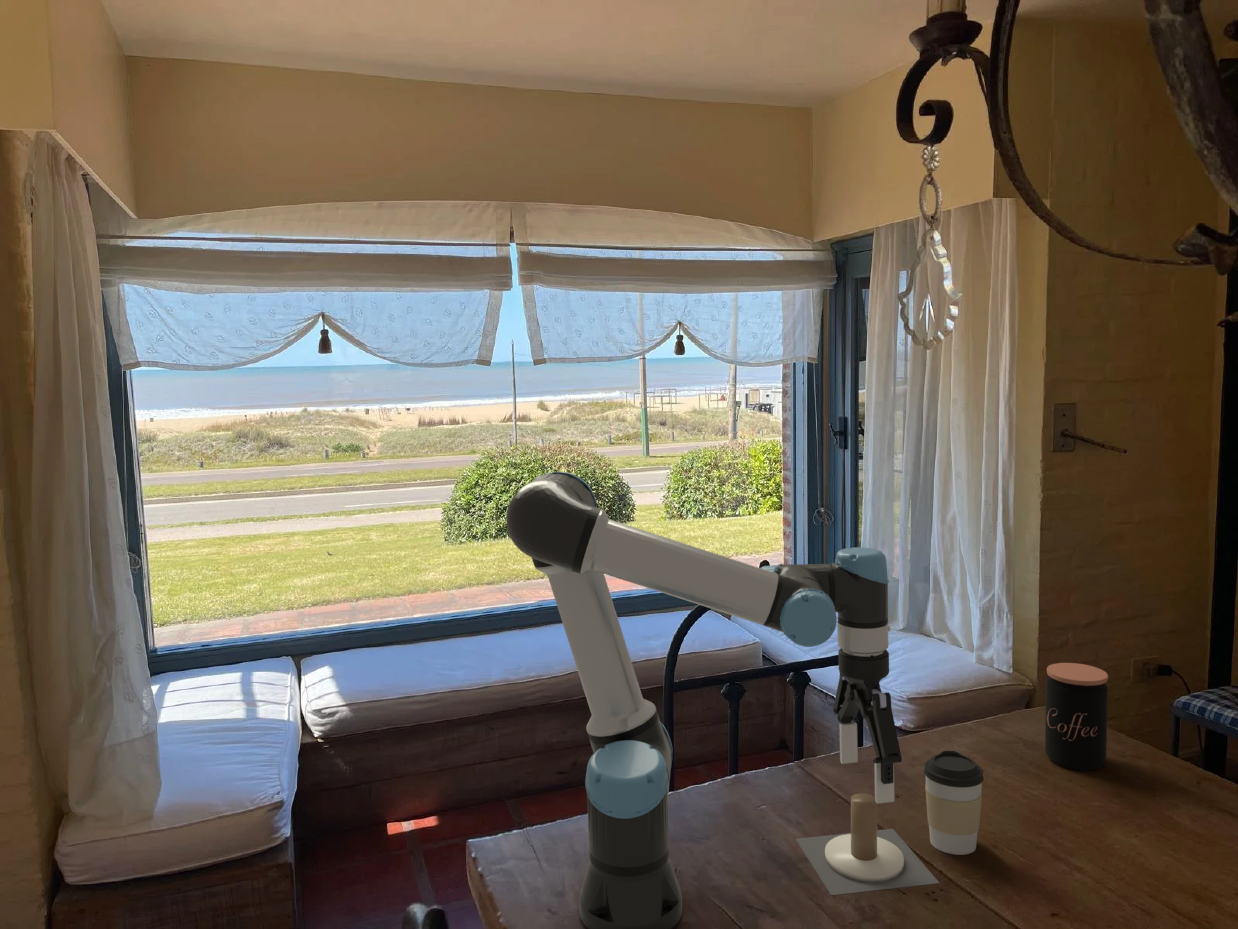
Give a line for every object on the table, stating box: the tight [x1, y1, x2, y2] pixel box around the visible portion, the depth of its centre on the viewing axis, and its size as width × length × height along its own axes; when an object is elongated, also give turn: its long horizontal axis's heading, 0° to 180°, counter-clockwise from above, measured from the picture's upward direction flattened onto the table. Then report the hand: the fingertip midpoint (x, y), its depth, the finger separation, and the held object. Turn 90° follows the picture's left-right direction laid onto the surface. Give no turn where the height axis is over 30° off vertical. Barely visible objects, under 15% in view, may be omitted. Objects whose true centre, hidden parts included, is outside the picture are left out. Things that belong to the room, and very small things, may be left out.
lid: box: [825, 792, 904, 882], centre depth 138 cm, size 12×12×10 cm
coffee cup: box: [923, 750, 985, 856], centre depth 141 cm, size 9×9×15 cm
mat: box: [795, 828, 940, 896], centre depth 138 cm, size 17×16×1 cm
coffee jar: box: [1044, 662, 1109, 771], centre depth 171 cm, size 11×11×18 cm
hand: (865, 781), depth 137 cm, fingers open, 13 cm apart
